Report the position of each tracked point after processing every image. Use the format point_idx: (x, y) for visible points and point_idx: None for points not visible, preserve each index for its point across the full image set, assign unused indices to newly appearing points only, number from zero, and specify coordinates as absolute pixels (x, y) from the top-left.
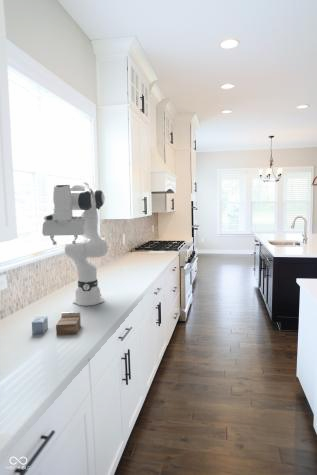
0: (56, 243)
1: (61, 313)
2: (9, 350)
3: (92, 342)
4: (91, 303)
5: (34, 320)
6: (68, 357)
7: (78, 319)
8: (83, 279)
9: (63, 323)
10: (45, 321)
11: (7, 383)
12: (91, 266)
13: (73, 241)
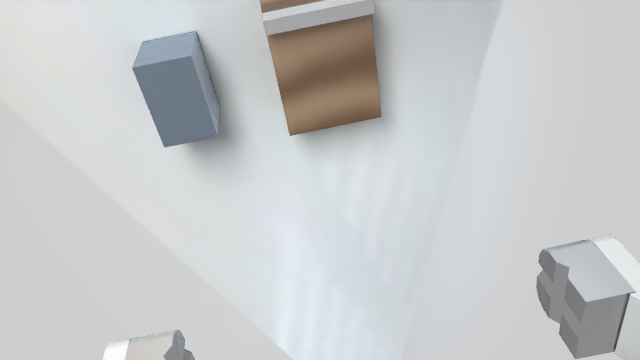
0: (177, 348)
1: (267, 34)
2: (177, 238)
3: (451, 148)
4: None
5: (158, 121)
6: (395, 246)
7: (374, 49)
8: None
9: (318, 115)
10: (204, 88)
11: (295, 354)
12: None
13: (599, 341)
